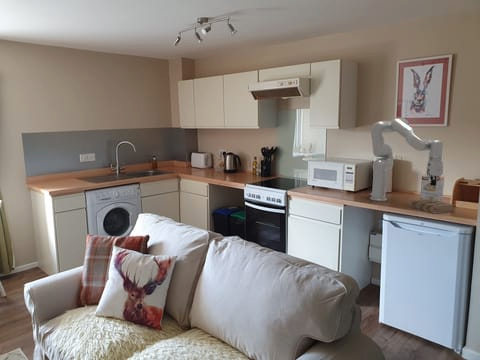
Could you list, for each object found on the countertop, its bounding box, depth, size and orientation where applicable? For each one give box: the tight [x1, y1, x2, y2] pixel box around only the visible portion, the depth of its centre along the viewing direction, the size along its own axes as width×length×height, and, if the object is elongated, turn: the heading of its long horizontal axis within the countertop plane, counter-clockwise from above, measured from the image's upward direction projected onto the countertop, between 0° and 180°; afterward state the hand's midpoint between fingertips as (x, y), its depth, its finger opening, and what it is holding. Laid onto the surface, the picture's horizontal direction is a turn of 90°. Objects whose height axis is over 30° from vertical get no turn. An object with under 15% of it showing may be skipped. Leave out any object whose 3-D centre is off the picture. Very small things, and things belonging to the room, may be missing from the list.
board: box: [410, 198, 454, 215], centre depth 250 cm, size 20×16×5 cm
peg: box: [429, 196, 435, 203], centre depth 250 cm, size 3×3×9 cm
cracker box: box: [419, 173, 445, 202], centre depth 268 cm, size 14×6×21 cm, turn 31°
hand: (433, 185), depth 248 cm, fingers closed
